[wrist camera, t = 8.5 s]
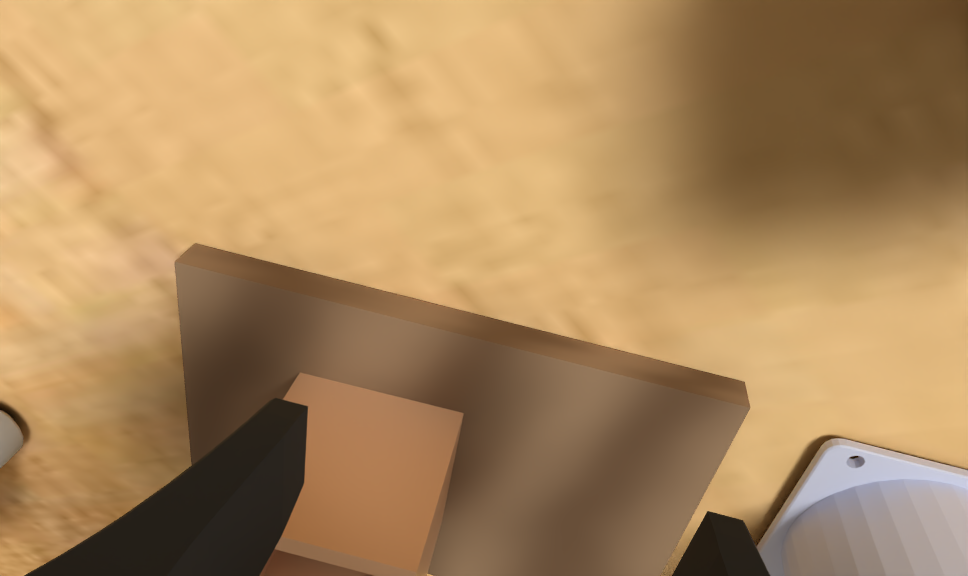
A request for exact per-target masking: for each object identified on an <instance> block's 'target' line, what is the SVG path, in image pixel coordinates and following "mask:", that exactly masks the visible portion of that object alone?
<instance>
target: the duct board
mask: <svg viewBox="0 0 968 576" xmlns="http://www.w3.org/2000/svg"><path fill="white" fill-rule="evenodd" d="M175 272H176V283H177V295H178V307H179V319H180V331H181V343H182V355H183V367H184V379H185V390H186V402H187V414H188V426H189V438H190V450H191V462H192V465H193V464H194V463H196V462H197V461H198V460H200V459H201V458H202V457H203V456H205V455H206V454H207V453H209V452H210V451H211V450H212V449H214V448H215V447H216V446H217V445H218V444H220V443H221V442H222V441H223V440H224V439H226V438H227V437H228V436H229V435H231V434H232V433H233V432H234V431H235V430H236V429H238V428H239V427H240V426H241V425H242V424H243V423H245V422H246V421H247V420H248V419H249V418H250V417H252V416H253V415H254V414H255V413H256V412H257V411H258V410H260V409H261V408H262V407H263V406H264V405H265V404H266V403H267V402H269V401H270V400H272V399H274V398H278V399H282V400H283V398H284V397H285V395H286V394H287V392H288V390H289V389H290V387H291V386H292V384H293V383H294V381H295V379H296V378H297V376H298V375H299V373H304V374H308V375H312V376H316V377H320V378H324V379H328V380H332V381H336V382H340V383H344V384H348V385H352V386H357V387H361V388H365V389H369V390H373V391H377V392H381V393H385V394H389V395H393V396H397V397H401V398H405V399H409V400H413V401H417V402H421V403H425V404H429V405H433V406H437V407H441V408H445V409H449V410H453V411H457V412H461V413H464V415H463V420H462V425H461V430H460V435H459V440H458V444H457V449H456V454H455V459H454V464H453V469H452V474H451V479H450V484H449V489H448V494H447V499H446V504H445V509H444V514H443V519H442V523H441V527H440V530H439V534H438V538H437V541H436V545H435V548H434V552H433V555H432V559H431V563H430V566H429V570H428V573H427V574H431V575H434V576H661V574H662V572H663V570H664V568H665V566H666V564H667V562H668V561H669V559H670V557H671V555H672V553H673V551H674V549H675V548H676V546H677V544H678V542H679V540H680V538H681V536H682V534H683V533H684V531H685V529H686V527H687V525H688V523H689V521H690V520H691V518H692V516H693V514H694V512H695V510H696V508H697V506H698V505H699V503H700V501H701V499H702V497H703V495H704V493H705V492H706V490H707V488H708V486H709V484H710V482H711V480H712V478H713V477H714V475H715V473H716V471H717V469H718V467H719V465H720V464H721V462H722V460H723V458H724V456H725V454H726V452H727V451H728V449H729V447H730V445H731V443H732V441H733V439H734V437H735V436H736V434H737V432H738V430H739V428H740V426H741V424H742V423H743V421H744V419H745V417H746V415H747V413H748V411H749V409H750V404H749V400H748V395H747V391H746V386H745V382H742V381H738V380H734V379H730V378H726V377H722V376H718V375H715V374H711V373H707V372H703V371H699V370H695V369H691V368H687V367H683V366H679V365H675V364H671V363H667V362H663V361H659V360H655V359H651V358H647V357H643V356H639V355H635V354H631V353H627V352H623V351H619V350H615V349H611V348H607V347H603V346H600V345H596V344H592V343H588V342H584V341H580V340H576V339H572V338H568V337H564V336H560V335H556V334H552V333H548V332H544V331H540V330H536V329H532V328H528V327H524V326H520V325H516V324H512V323H508V322H504V321H500V320H496V319H492V318H488V317H485V316H481V315H477V314H473V313H469V312H465V311H461V310H457V309H453V308H449V307H445V306H441V305H437V304H433V303H429V302H425V301H421V300H417V299H413V298H409V297H405V296H401V295H397V294H393V293H389V292H385V291H381V290H377V289H373V288H369V287H366V286H362V285H358V284H354V283H350V282H346V281H342V280H338V279H334V278H330V277H326V276H322V275H318V274H314V273H310V272H306V271H302V270H298V269H294V268H290V267H286V266H282V265H278V264H274V263H270V262H266V261H262V260H258V259H254V258H251V257H247V256H243V255H239V254H235V253H231V252H227V251H223V250H219V249H215V248H211V247H207V246H203V245H199V244H194V245H193V246H192V247H191V248H189V249H188V250H187V251H186V252H185V253H184V254H183V255H182V256H180V257H179V258H178V259H177V260H176V261H175Z"/></svg>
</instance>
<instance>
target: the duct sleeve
mask: <svg viewBox="0 0 968 576" xmlns="http://www.w3.org/2000/svg"><path fill="white" fill-rule="evenodd" d="M283 400H286V401H290V402H294V403H298V404H301V405H305V406H308V417H307V438H306V458H305V478H304V485H303V487H302V490H301V492H300V494H299V497H298V499H297V502H296V504H295V506H294V509H293V511H292V513H291V516H290V518H289V520H288V523H287V525H286V527H285V529H284V532H283V534H282V536H281V538H280V540H279V542H278V543H277V545H276V547H275V549H274V551H273V552H272V554H271V556H270V558H269V559H268V561H267V563H266V565H265V567H264V568H263V570H262V572H261V574H260V575H259V576H427V573H428V570H429V566H430V563H431V559H432V555H433V552H434V548H435V545H436V541H437V538H438V534H439V530H440V527H441V523H442V519H443V514H444V509H445V504H446V499H447V494H448V489H449V484H450V479H451V474H452V469H453V464H454V459H455V454H456V449H457V444H458V440H459V435H460V430H461V425H462V420H463V415H464V413H461V412H457V411H453V410H449V409H445V408H441V407H437V406H433V405H429V404H425V403H421V402H417V401H413V400H409V399H405V398H401V397H397V396H393V395H389V394H385V393H381V392H377V391H373V390H369V389H365V388H361V387H357V386H352V385H348V384H344V383H340V382H336V381H332V380H328V379H324V378H320V377H316V376H312V375H308V374H304V373H299V375H298V376H297V378H296V379H295V381H294V383H293V384H292V386H291V387H290V389H289V390H288V392H287V394H286V395H285V397H284V398H283Z"/></svg>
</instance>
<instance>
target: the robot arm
mask: <svg viewBox="0 0 968 576" xmlns="http://www.w3.org/2000/svg"><path fill="white" fill-rule="evenodd" d="M307 417H308V406H305V405H301V404H298V403H294V402H290V401H286V400H282V399H278V398H274V399H272V400H270V401H269V402H267V403H266V404H265V405H264V406H263V407H262V408H261V409H260V410H258V411H257V412H256V413H255V414H254V415H253V416H252V417H250V418H249V419H248V420H247V421H246V422H245V423H243V424H242V425H241V426H240V427H239V428H238V429H236V430H235V431H234V432H233V433H232V434H231V435H229V436H228V437H227V438H226V439H224V440H223V441H222V442H221V443H220V444H218V445H217V446H216V447H215V448H214V449H212V450H211V451H210V452H209V453H207V454H206V455H205V456H203V457H202V458H201V459H200V460H198V461H197V462H196V463H194V464H193V465H192V466H191V467H189V468H188V469H187V470H185V471H184V472H183V473H182V474H180V475H179V476H178V477H176V478H175V479H174V480H172V481H171V482H170V483H168V484H167V485H166V486H164V487H163V488H161V489H160V490H159V491H157V492H156V493H154V494H153V495H152V496H150V497H149V498H147V499H146V500H145V501H143V502H142V503H140V504H139V505H137V506H136V507H135V508H133V509H132V510H130V511H129V512H128V513H126V514H125V515H123V516H122V517H120V518H119V519H117V520H116V521H114V522H113V523H111V524H110V525H108V526H107V527H105V528H104V529H102V530H100V531H99V532H97V533H96V534H94V535H93V536H91V537H89V538H88V539H86V540H84V541H83V542H81V543H80V544H78V545H76V546H75V547H73V548H71V549H70V550H68V551H67V552H65V553H63V554H61V555H60V556H58V557H56V558H55V559H53V560H51V561H49V562H47V563H46V564H44V565H42V566H40V567H39V568H37V569H35V570H33V571H32V572H30V573H28V574H26V575H24V576H259V575H260V574H261V572H262V570H263V568H264V567H265V565H266V563H267V561H268V559H269V558H270V556H271V554H272V552H273V551H274V549H275V547H276V545H277V543H278V542H279V540H280V538H281V536H282V534H283V532H284V529H285V527H286V525H287V523H288V520H289V518H290V516H291V513H292V511H293V509H294V506H295V504H296V502H297V499H298V497H299V494H300V492H301V490H302V487H303V485H304V478H305V458H306V438H307ZM852 456H859V457H858V458H854V459H849V458H850V457H852ZM672 576H968V470H965V469H961V468H957V467H953V466H949V465H945V464H941V463H937V462H933V461H929V460H925V459H921V458H917V457H914V456H910V455H906V454H902V453H898V452H894V451H890V450H886V449H882V448H878V447H874V446H870V445H866V444H862V443H859V442H855V441H851V440H847V439H841V438H835V439H830V440H828V441H826V442H825V443H824V444H823V445H822V446H821V447H820V448H819V450H818V452H817V453H816V455H815V456H814V458H813V459H812V461H811V463H810V464H809V466H808V467H807V469H806V470H805V472H804V473H803V475H802V477H801V478H800V480H799V481H798V483H797V484H796V486H795V487H794V489H793V491H792V492H791V494H790V495H789V497H788V498H787V500H786V502H785V503H784V505H783V506H782V508H781V509H780V511H779V512H778V514H777V516H776V517H775V519H774V520H773V522H772V523H771V525H770V527H769V528H768V530H767V531H766V533H765V534H764V536H763V537H762V539H761V541H760V542H759V544H758V545H757V547H756V545H755V543H754V541H753V539H752V537H751V535H750V533H749V531H748V529H747V527H746V525H745V523H744V522H743V520H739V519H736V518H732V517H728V516H724V515H720V514H717V513H713V512H709V511H707V513H706V515H705V517H704V519H703V521H702V522H701V524H700V526H699V528H698V530H697V531H696V533H695V535H694V537H693V539H692V540H691V542H690V544H689V546H688V548H687V550H686V551H685V553H684V555H683V557H682V559H681V560H680V562H679V564H678V566H677V568H676V569H675V571H674V573H673V575H672Z"/></svg>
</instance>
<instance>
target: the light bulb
mask: <svg viewBox="0 0 968 576" xmlns="http://www.w3.org/2000/svg"><path fill="white" fill-rule="evenodd" d="M23 439H24V438H23V435H22V432H21V430H20V428H19V426H18V425H17V424H16V422H15V420H14V419H13V417H12V416H11V415H10V414H8V413H7V412H6V411H3V410H1V409H0V468H1V467H2V466H3V465H4V464H5V463H6V462H7V461H8V460H10V459H11V458H12V457H13V456H14V455H15V454H16V453H17V452H18V451H19V450H20V449H21V448H22V446H23Z"/></svg>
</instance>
